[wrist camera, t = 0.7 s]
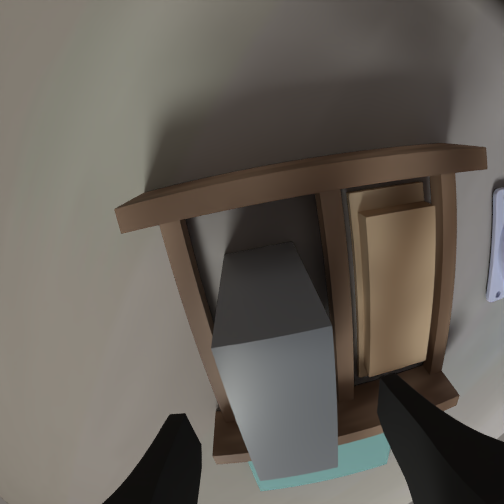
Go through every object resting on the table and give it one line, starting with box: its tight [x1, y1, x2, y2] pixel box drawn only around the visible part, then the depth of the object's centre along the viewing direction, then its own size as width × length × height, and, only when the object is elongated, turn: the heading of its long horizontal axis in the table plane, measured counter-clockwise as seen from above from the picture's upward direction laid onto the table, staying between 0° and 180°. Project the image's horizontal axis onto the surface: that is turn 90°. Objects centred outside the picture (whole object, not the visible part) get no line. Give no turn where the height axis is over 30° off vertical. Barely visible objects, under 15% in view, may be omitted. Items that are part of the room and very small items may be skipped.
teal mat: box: [248, 433, 390, 491], centre depth 22 cm, size 12×9×1 cm
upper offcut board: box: [358, 201, 436, 377], centre depth 16 cm, size 4×10×1 cm, turn 11°
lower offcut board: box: [346, 182, 424, 378], centre depth 18 cm, size 4×12×1 cm, turn 11°
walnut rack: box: [114, 143, 487, 464], centre depth 16 cm, size 16×16×4 cm
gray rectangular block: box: [211, 242, 338, 481], centre depth 14 cm, size 4×8×8 cm, turn 11°
